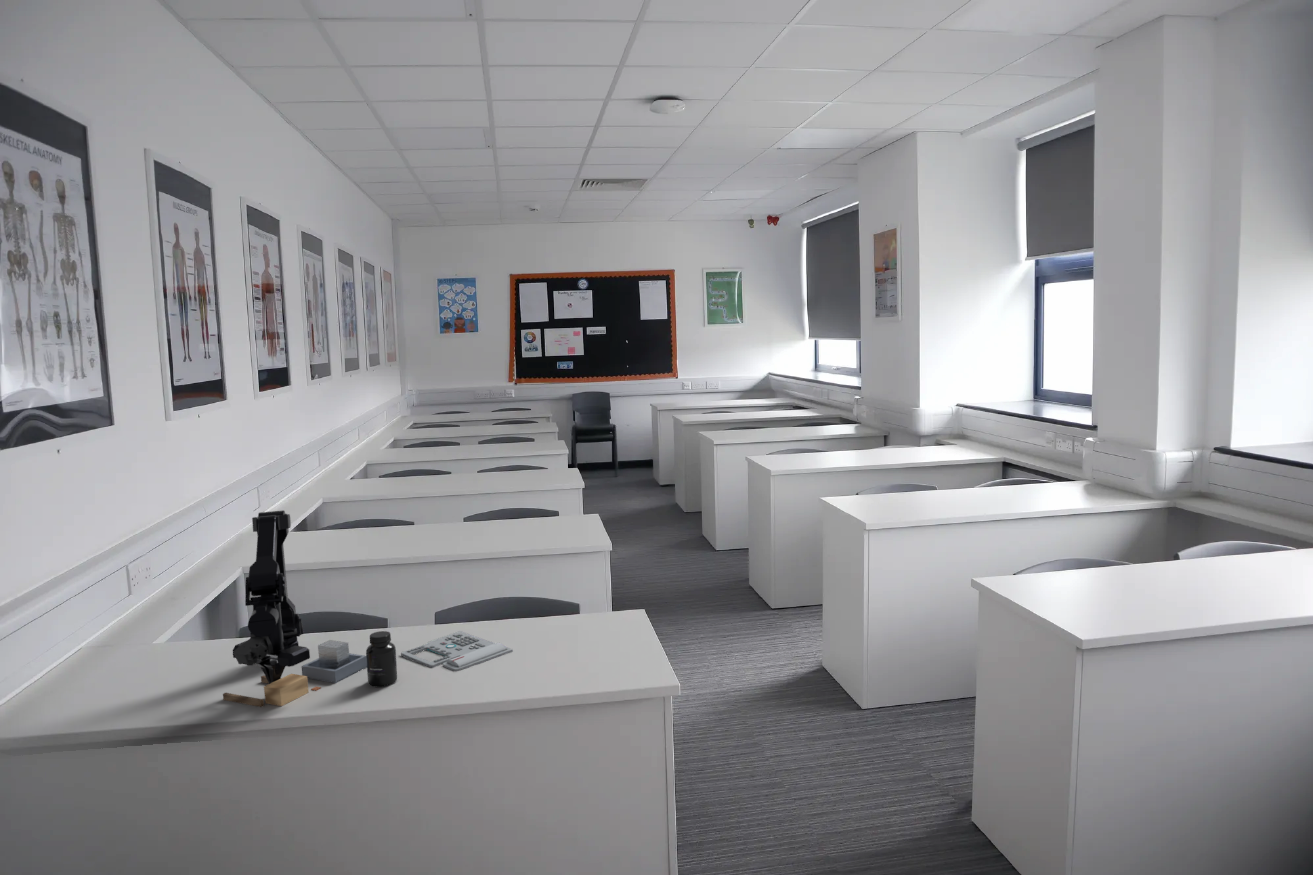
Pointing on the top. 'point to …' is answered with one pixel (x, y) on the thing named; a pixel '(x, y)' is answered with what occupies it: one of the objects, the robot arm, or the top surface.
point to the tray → (334, 676)
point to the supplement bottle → (381, 660)
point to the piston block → (286, 689)
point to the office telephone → (458, 651)
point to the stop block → (333, 654)
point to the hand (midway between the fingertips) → (274, 687)
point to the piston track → (250, 699)
